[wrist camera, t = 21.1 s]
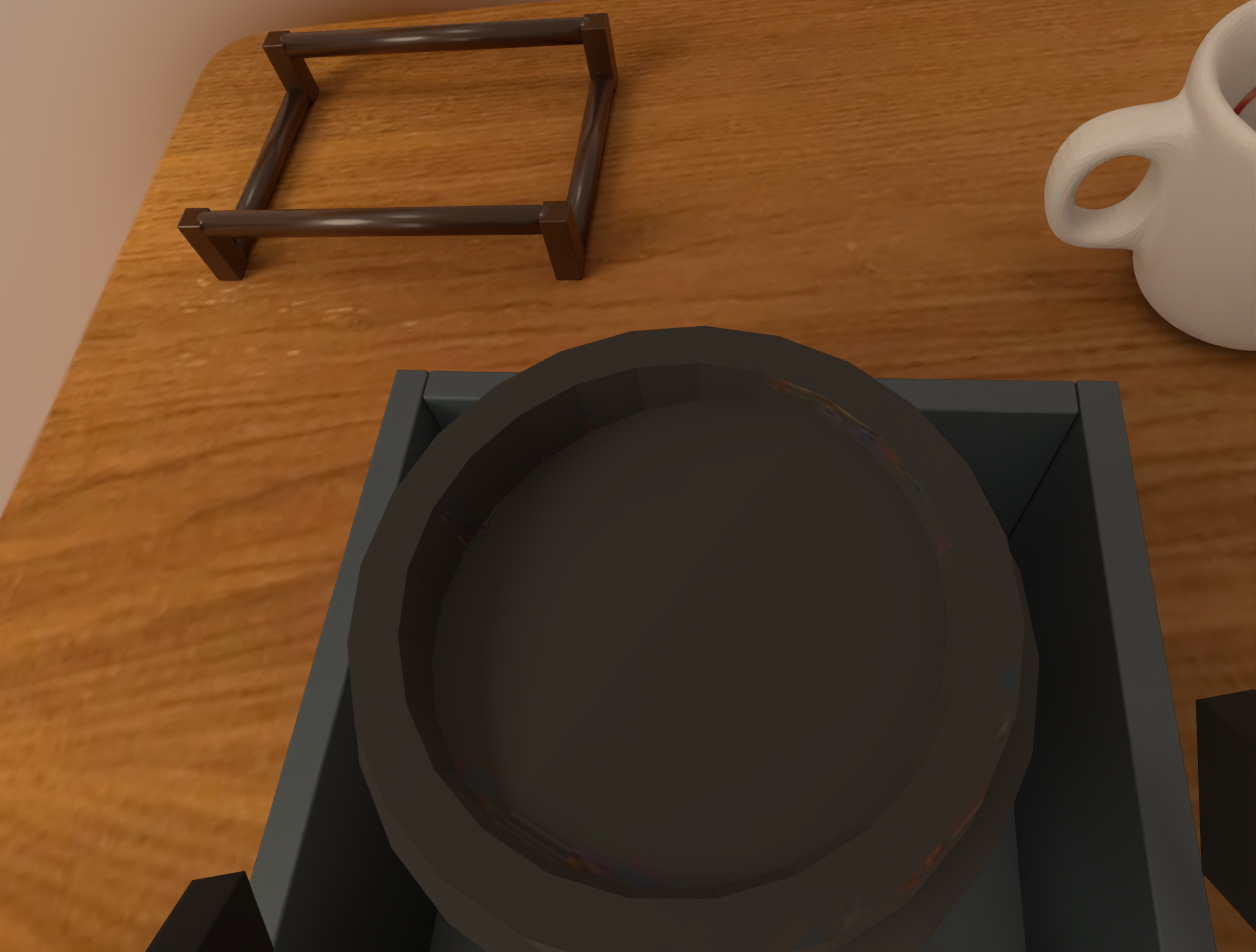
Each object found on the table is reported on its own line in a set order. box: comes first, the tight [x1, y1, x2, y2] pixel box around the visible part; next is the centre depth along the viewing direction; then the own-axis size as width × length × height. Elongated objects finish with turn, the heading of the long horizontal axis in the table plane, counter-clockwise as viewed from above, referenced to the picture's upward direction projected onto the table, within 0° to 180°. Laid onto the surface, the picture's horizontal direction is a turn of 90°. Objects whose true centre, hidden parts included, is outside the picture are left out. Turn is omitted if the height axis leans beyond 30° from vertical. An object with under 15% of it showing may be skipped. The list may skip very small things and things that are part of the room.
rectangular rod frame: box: [177, 13, 618, 280], centre depth 36 cm, size 15×11×3 cm
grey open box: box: [250, 370, 1217, 952], centre depth 20 cm, size 16×16×9 cm
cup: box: [1044, 0, 1256, 351], centre depth 26 cm, size 11×8×8 cm
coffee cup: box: [347, 326, 1039, 952], centre depth 16 cm, size 8×8×15 cm
